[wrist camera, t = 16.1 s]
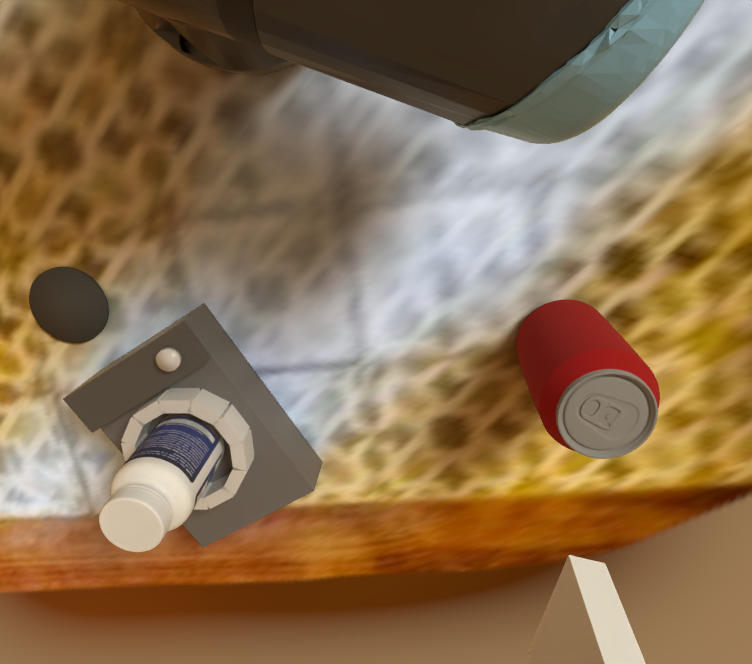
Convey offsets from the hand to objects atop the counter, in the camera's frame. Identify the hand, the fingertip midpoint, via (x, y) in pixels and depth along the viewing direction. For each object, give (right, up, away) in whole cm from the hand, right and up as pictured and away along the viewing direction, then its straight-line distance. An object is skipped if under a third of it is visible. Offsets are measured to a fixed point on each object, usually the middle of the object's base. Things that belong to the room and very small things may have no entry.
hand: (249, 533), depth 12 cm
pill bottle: (-11, -4, +32) cm, 34 cm away
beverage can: (+16, +4, +31) cm, 35 cm away
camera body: (-11, -3, +36) cm, 37 cm away
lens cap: (-21, +6, +34) cm, 40 cm away
